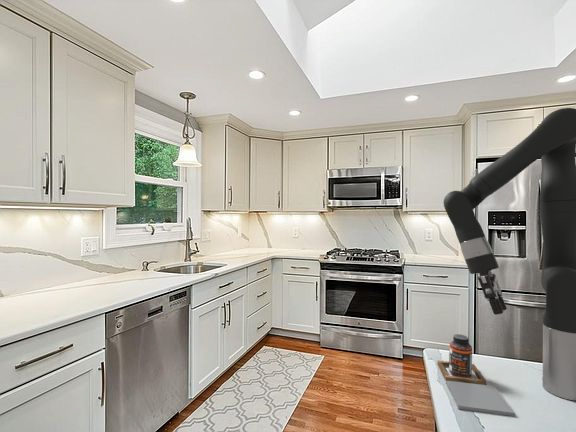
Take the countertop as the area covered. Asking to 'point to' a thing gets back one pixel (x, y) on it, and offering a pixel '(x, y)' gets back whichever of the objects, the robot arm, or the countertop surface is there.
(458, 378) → the walnut frame
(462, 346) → the supplement bottle
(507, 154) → the robot arm
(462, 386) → the plate
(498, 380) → the countertop surface
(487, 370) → the countertop surface
